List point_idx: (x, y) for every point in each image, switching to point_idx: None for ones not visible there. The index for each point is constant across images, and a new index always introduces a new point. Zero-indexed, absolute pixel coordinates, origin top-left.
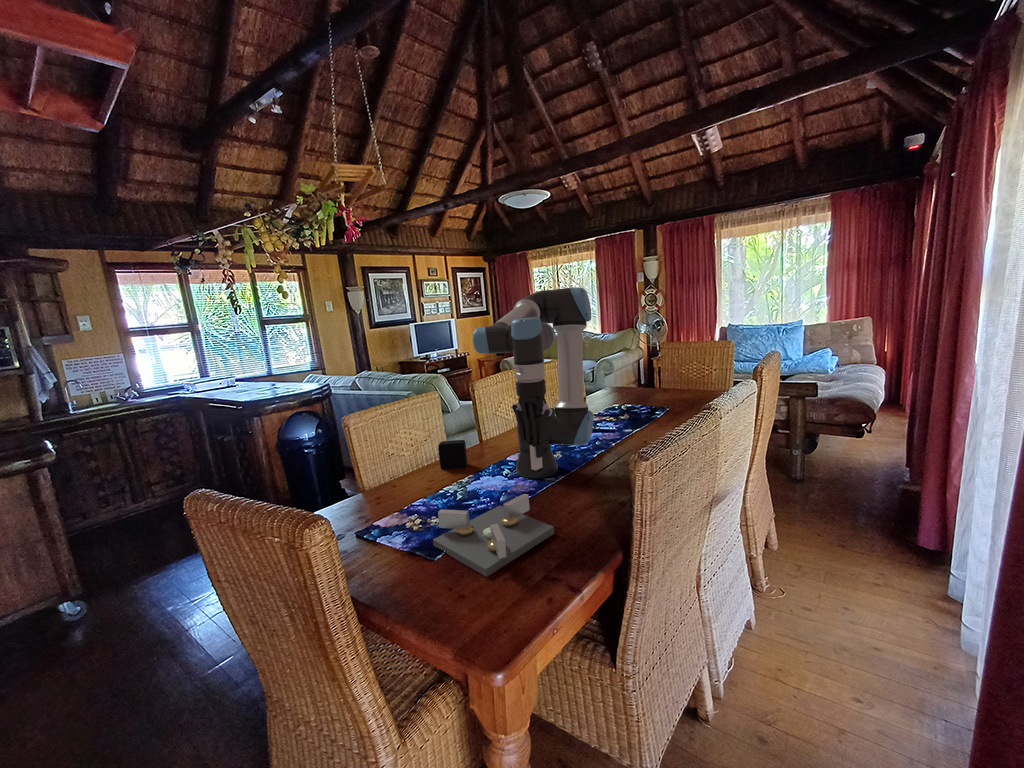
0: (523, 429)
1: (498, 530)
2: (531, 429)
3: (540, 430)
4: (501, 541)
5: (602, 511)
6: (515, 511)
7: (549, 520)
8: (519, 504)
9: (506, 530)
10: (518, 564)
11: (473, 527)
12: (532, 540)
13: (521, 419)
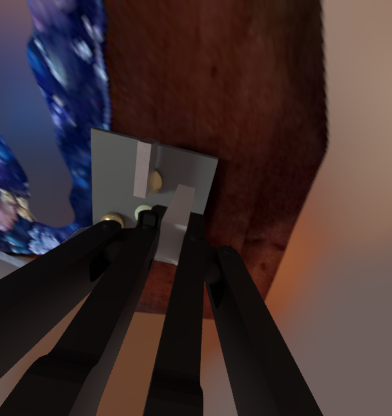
0: (80, 294)
1: None
2: (134, 302)
3: (223, 350)
4: None
5: (276, 30)
6: (152, 177)
7: (191, 120)
8: (150, 168)
9: (158, 196)
10: (207, 234)
11: (120, 220)
12: (205, 204)
13: (8, 357)
